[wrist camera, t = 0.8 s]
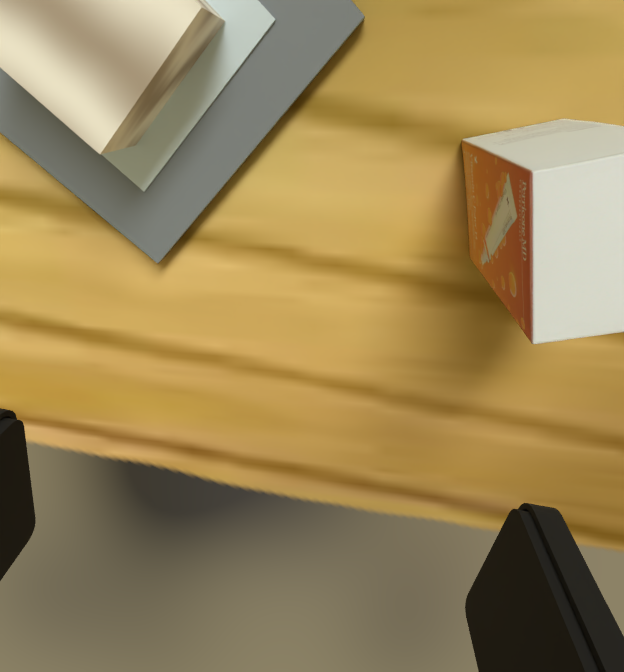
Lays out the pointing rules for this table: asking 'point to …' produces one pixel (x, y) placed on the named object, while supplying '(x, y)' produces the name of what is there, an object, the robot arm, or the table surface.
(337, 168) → the table surface
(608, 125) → the small box
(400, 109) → the table surface
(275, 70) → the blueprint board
